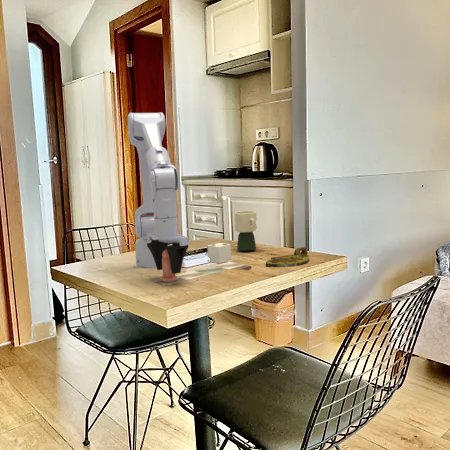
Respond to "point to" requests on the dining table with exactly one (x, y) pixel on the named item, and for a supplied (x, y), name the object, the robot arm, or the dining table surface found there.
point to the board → (205, 270)
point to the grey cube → (219, 252)
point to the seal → (290, 259)
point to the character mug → (245, 229)
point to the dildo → (167, 269)
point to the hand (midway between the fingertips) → (168, 271)
